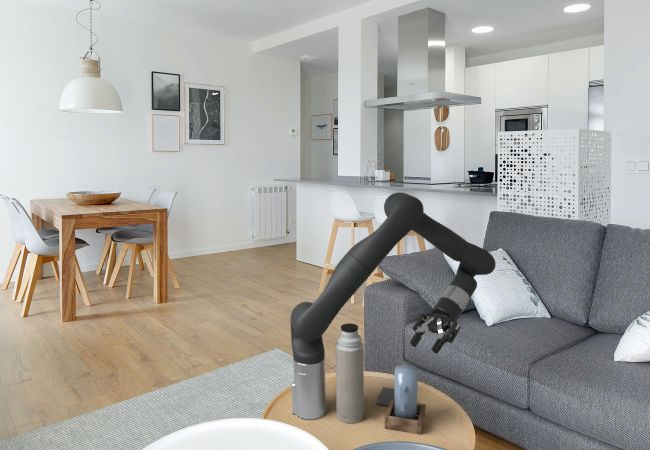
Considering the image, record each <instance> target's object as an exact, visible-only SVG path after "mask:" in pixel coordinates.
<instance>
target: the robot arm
mask: <svg viewBox="0 0 650 450" xmlns="http://www.w3.org/2000/svg"><path fill="white" fill-rule="evenodd" d="M383 211H384V213H385V216H386V218H385V219H384V221H383V222H382V223H381V225H379V227H378V228H377V229H375V231H374V232H372V233H371V234H369V235H367V236H366V237H365V238H363V239H360V241H359V242H356V244H354V245H353V246H352V247H351V248H349V250H348V251H347V252H346V253H345V254H344V256H343V257H342V258H341V259H340V260H339V262H338V263H337V265H336V266H335V267H334V270H333V272H332V273H331V276H330V277H329V280H328V282H327V284H326V286H325V288H324V290H323V291H322V293H321V294H320V295H319V296H318V298H317V299H316V300H315V301H314V302H309V301H302V302H300V303H298V304H297V305H296V306H294V308H293V309H292V311H291V314H290V319H289V320H290V338H291V339H290V341H291V350H292V359H293V364H292V365H293V382H292V384H291V400H292V401H291V402H292V403H291V407H292V410H291V411H292V414H293V413H294V414H293V415H295V414H296V415H295V416H297V417H298V416H299V417H298V418H300V419H302V418H303V420H316V419H320V418H321V417H323V416H324V415H326V413H327V411H326V410H327V404H326V403H327V400H326V399H327V398H326V397H327V396H326V358H325V356H326V354H325V353H326V352H325V346H324V340H323V335H324V333H326V331H327V330H328V328H329V327H330V326H331V324H332V322H333V321H334V319H335V318H336V316H337V315H338V314H339V312H340V311H341V309H342V308H343V307H344V305H346V304H347V302H348V301H349V300H350V299H351V298H352V297H353V296H354V295H355V293H356V292H357V291H358V290H359V289H360V287H361V286H363V284H364V283H365V282H366V281H367V279H369V277H370V276H371V275H372V274H373V273H374V271H376V269H377V268H378V266H380V264H381V263H382V262H383V260H384V259H385V258H386V257H387V256H388V255H389V253H390V252H392V250H393V249H394V248H395V246H396V245H397V244H398V243H400V242H401V241H402V239H404V238H405V237H406V235H408V234H409V233H410V232H411V231H412V232H414V233H416V234H417V235H419V236H420V237H421V238H423V239H424V240H426V241H427V242H428V243H430V244H431V245H432V246H434V247H435V249H438V250H439V252H441V253H443V254H445V255H446V256H447V257H449V258H450V259H451V260H453V261H454V262H458V267H457V270H456V272H455V273H456V274H455V276H454V278H453V279H452V281H451V282H450V284H449V285H448V286H447V288H446V289H445V290H444V291H443V293H442V295H441V296H440V297H439V298H438V301H437V302H436V304H435V305H434V306H433V308H432V314H430V316H427V314H425V313H422V314H421V315H420V317H419V318H418V320H417V321H416V323H415V324H414V325H413V326H412V330H413V331H414V335H413V336H412V337H411V339H410V341H409V343H410V345H411V346H412V347H413V348H416V347H417V346H418V344H419V343H420V341H421V340H422V337H424V336H426V335H430V334H432V333H433V334H437V335H438V338H437V339H436V340H435V342H434V343H433V345H432V346H431V351H432V352H433V353H434V354H438V353H439V352H441V349H442V348H443V346H444V345H445V344H447V343H449V344H453V342H454V340H455V339H456V338H457V336H458V333H459V332H460V330H461V329H462V328H461V325H460V323H458V320H459V318H460V317H461V315H462V313H463V312H464V310H465V309H466V307H467V305H468V303H469V301H470V299H471V297H473V295H474V293H475V291H476V289H477V288H478V282H477V280H476V279H475V277H476V276H486V275H487V276H488V275H489V274H490V275H491V273H493V272H494V270H495V269H496V266H497V264H496V260H495V257H494V256H493V255H492V254H491V252H489V251H488V250H486V249H484V248H483V247H480V246H478V245H476V244H473V243H471V242H469V241H467V240H465V238H463V237H462V236H461V235H459V234H458V233H456V232H455V231H453V230H452V229H451V228H449V227H447V226H446V225H444V224H442V223H440V222H439V221H436V220H435V219H434V218H432V217H430V216H429V215H428V214H426V213H425V212H424V204H423V202H422V201H421V200H420V199H419V198H418V197H415V196H414V195H410V194H409V193H405V192H402V191H401V192H400V191H399V192H394V193H392V194H390V195H388V197H386V199H385V202H384V204H383Z"/></svg>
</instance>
